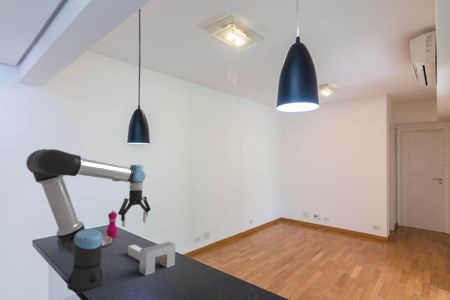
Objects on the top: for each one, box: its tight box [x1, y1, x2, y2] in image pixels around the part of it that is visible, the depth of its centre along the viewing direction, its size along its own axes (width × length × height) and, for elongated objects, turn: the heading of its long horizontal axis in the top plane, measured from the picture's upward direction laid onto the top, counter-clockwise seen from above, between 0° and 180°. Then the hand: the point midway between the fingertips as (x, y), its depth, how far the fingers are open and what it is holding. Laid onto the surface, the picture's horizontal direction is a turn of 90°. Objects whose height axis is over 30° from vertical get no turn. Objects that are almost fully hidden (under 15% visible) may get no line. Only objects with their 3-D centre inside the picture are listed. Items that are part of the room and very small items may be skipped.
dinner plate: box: [102, 234, 113, 247], centre depth 164 cm, size 27×27×3 cm
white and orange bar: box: [127, 244, 157, 262], centre depth 144 cm, size 24×4×5 cm, turn 48°
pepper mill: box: [106, 209, 118, 239], centre depth 183 cm, size 7×7×20 cm
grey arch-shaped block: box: [138, 241, 176, 276], centre depth 133 cm, size 6×18×12 cm, turn 138°
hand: (134, 224), depth 151 cm, fingers open, 13 cm apart
